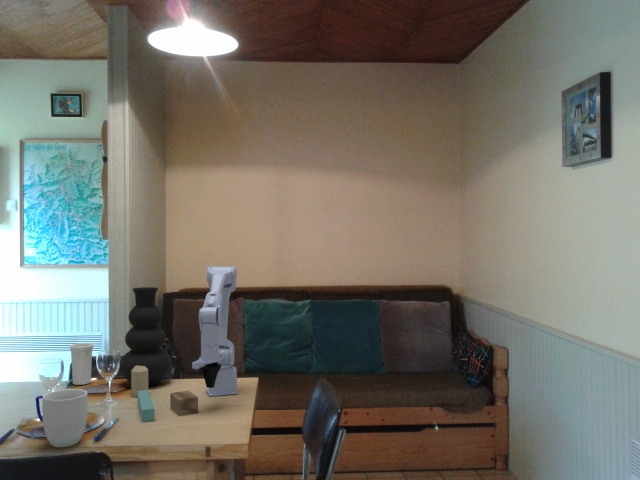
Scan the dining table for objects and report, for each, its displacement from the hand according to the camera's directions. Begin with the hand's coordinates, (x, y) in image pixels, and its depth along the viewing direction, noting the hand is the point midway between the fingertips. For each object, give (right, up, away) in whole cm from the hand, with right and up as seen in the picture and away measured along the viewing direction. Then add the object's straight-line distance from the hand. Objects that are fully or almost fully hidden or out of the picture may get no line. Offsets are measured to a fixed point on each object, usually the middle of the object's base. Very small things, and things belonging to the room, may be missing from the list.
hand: (210, 387), depth 187 cm
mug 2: (-32, -7, -30) cm, 45 cm away
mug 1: (-40, -7, -19) cm, 45 cm away
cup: (-53, -6, +30) cm, 61 cm away
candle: (-27, -7, +15) cm, 31 cm away
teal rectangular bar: (-20, -7, -3) cm, 21 cm away
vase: (-29, -6, +30) cm, 42 cm away
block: (-8, -7, -3) cm, 11 cm away
